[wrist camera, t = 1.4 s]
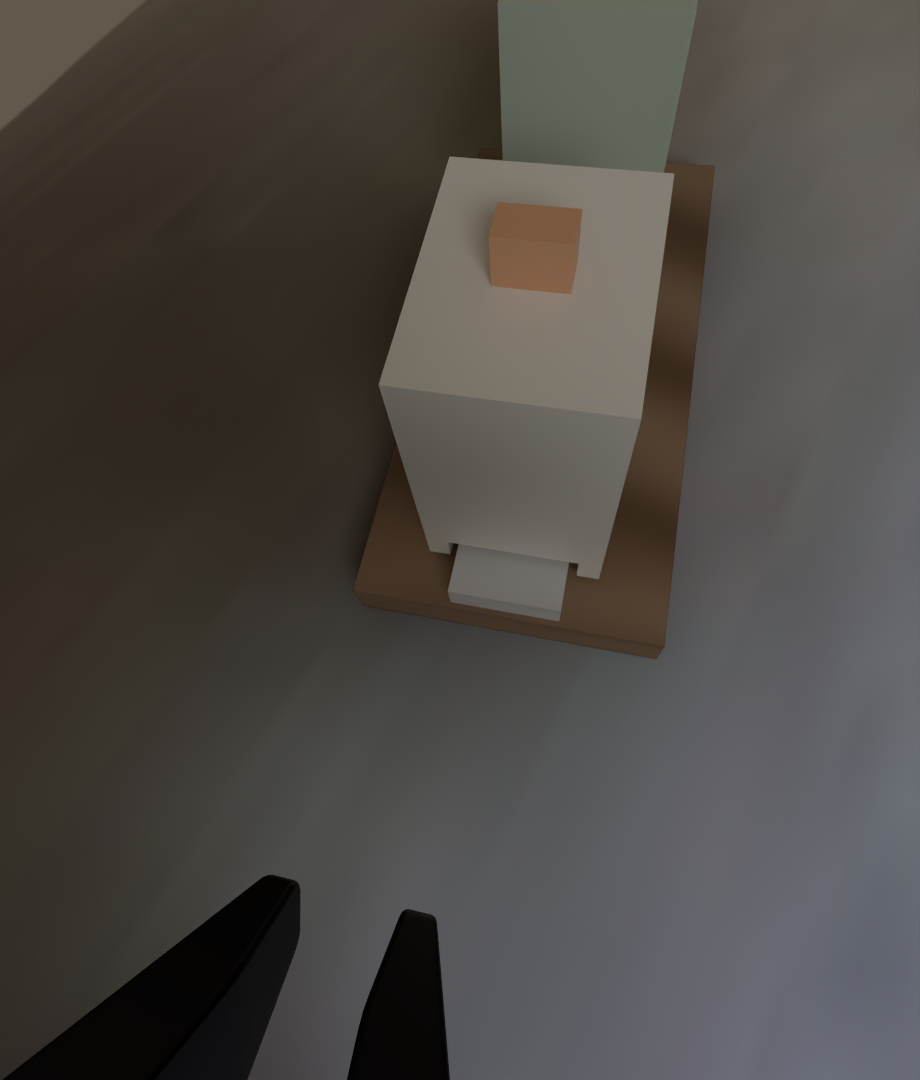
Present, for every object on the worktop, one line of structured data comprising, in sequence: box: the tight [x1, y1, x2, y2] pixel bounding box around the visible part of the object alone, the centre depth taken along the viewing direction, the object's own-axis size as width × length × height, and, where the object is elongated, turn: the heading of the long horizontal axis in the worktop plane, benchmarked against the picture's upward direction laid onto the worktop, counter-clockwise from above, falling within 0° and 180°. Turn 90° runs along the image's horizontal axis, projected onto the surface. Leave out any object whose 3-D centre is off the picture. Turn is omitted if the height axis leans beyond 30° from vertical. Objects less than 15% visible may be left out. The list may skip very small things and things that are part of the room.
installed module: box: [498, 0, 698, 173], centre depth 25 cm, size 6×6×9 cm
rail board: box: [353, 149, 715, 659], centre depth 27 cm, size 21×10×2 cm, turn 168°
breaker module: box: [379, 157, 674, 579], centre depth 19 cm, size 7×6×10 cm
